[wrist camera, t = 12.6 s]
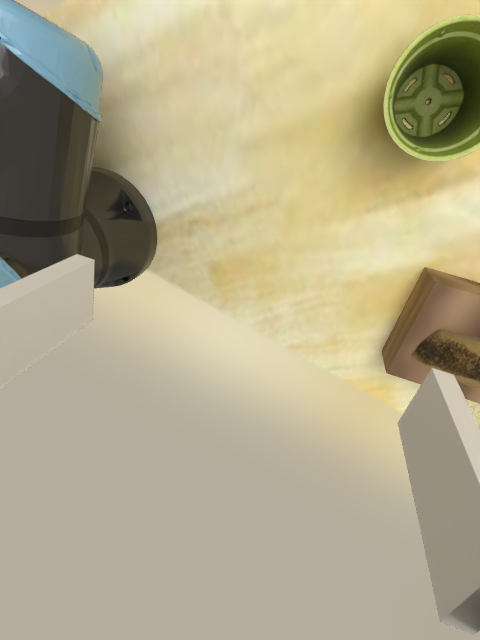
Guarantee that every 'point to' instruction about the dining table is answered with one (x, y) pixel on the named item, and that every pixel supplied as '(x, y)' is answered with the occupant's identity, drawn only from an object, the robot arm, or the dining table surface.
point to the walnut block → (433, 323)
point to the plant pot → (437, 92)
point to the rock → (452, 356)
